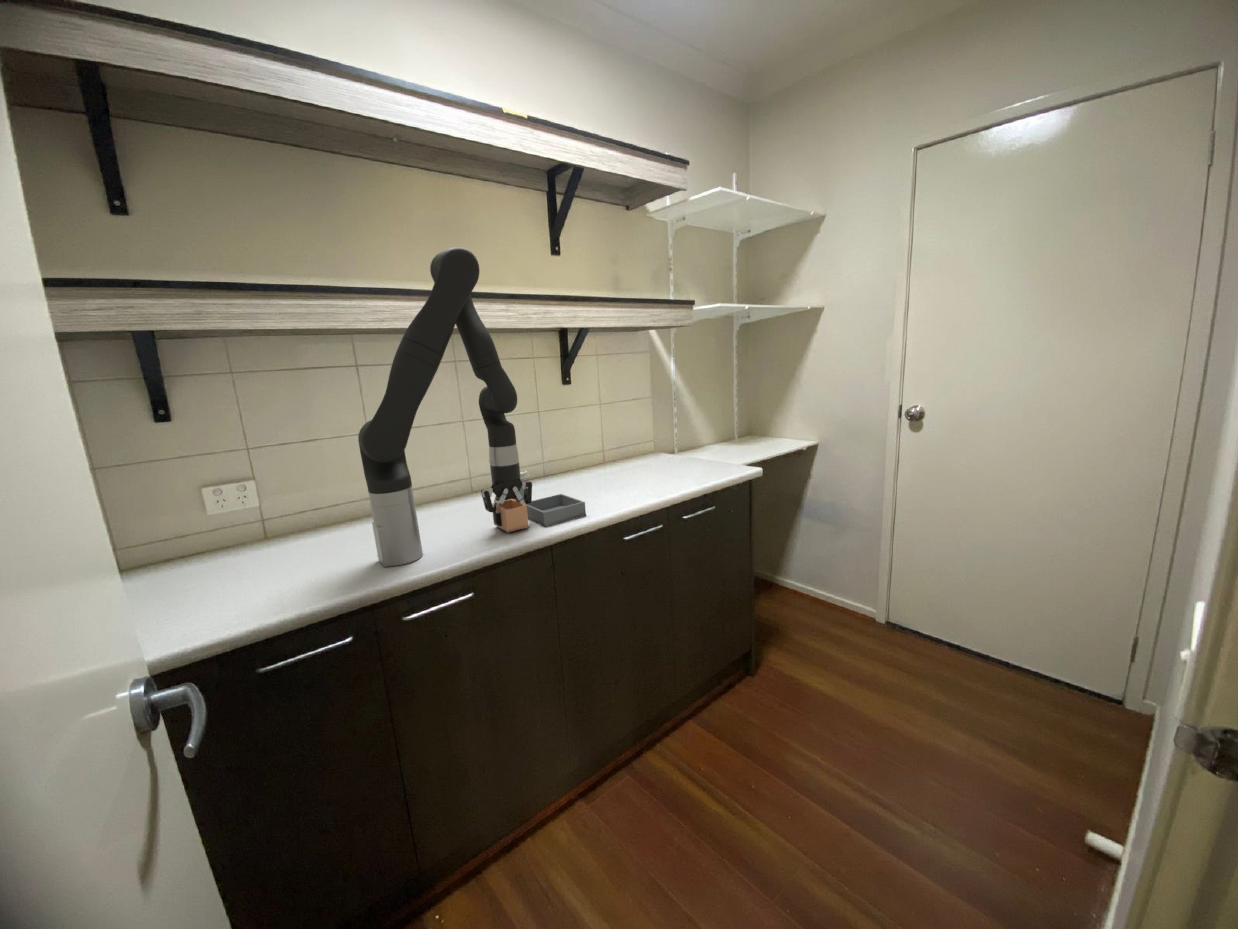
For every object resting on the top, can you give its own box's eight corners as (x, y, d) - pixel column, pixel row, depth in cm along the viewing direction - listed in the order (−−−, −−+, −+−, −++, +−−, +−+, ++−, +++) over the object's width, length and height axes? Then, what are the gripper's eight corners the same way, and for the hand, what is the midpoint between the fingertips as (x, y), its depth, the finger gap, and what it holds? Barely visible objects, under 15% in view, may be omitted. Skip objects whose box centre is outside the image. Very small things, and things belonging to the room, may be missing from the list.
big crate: (545, 526, 132) (543, 512, 131) (523, 516, 143) (521, 503, 142) (585, 515, 140) (584, 502, 139) (562, 506, 150) (561, 493, 149)
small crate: (507, 532, 127) (505, 510, 126) (493, 524, 134) (491, 503, 133) (528, 526, 131) (526, 505, 129) (513, 519, 138) (511, 499, 137)
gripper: (484, 468, 122) (491, 532, 125) (535, 459, 130) (541, 519, 134) (472, 464, 128) (480, 525, 131) (522, 456, 136) (528, 513, 139)
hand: (510, 522), depth 132 cm, fingers closed on small crate, 6 cm apart
